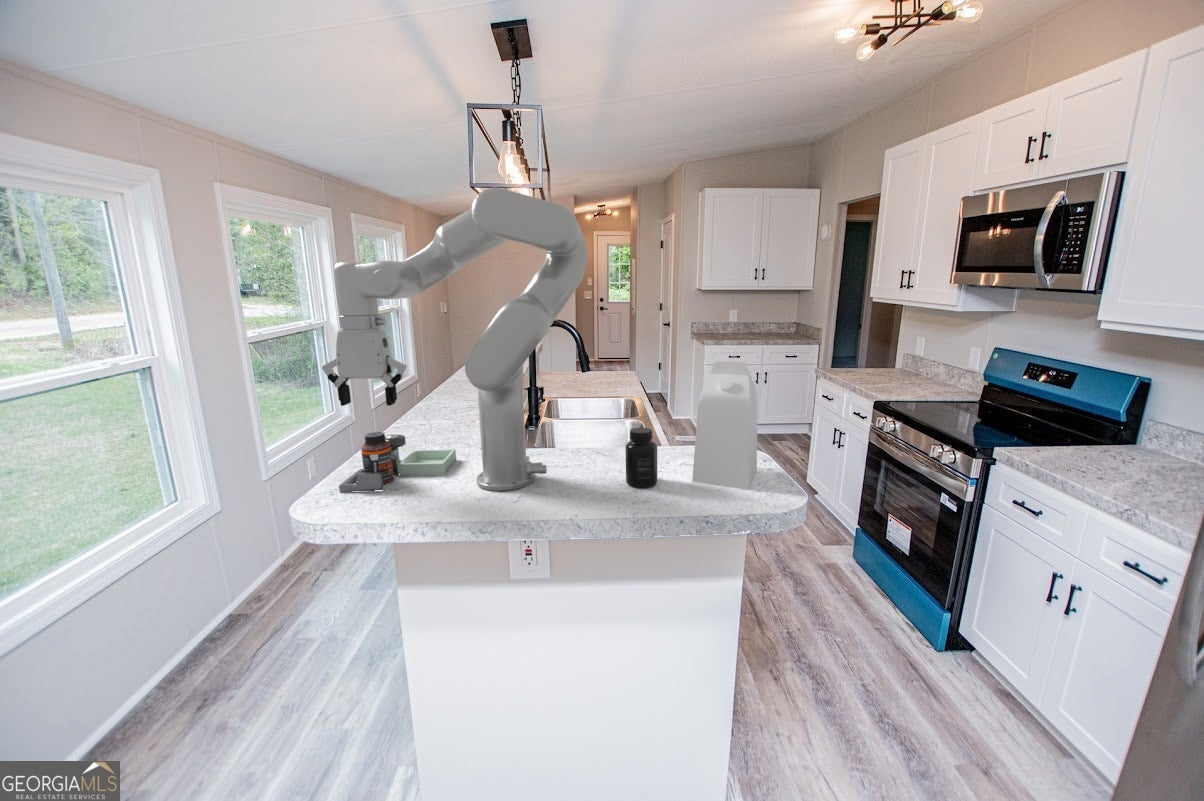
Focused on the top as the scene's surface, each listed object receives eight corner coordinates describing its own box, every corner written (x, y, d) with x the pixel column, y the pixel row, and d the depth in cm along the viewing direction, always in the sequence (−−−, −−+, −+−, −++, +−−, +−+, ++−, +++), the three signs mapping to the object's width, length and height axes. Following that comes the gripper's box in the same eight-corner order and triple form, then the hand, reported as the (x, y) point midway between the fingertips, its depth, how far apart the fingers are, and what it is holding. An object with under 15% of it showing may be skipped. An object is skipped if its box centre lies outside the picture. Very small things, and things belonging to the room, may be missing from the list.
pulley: (411, 461, 126) (408, 432, 124) (402, 469, 120) (399, 439, 118) (387, 461, 126) (384, 432, 124) (377, 470, 120) (373, 440, 118)
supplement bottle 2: (661, 479, 111) (662, 427, 109) (651, 491, 105) (651, 436, 103) (632, 475, 114) (632, 424, 111) (620, 486, 108) (620, 432, 105)
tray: (456, 460, 126) (455, 449, 125) (444, 475, 116) (443, 463, 115) (415, 460, 126) (414, 450, 125) (399, 475, 116) (398, 464, 115)
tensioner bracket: (399, 474, 117) (398, 457, 116) (382, 491, 107) (379, 473, 106) (361, 474, 117) (359, 458, 116) (339, 492, 107) (337, 474, 106)
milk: (756, 471, 115) (763, 358, 109) (748, 490, 105) (755, 366, 99) (704, 464, 120) (708, 356, 114) (692, 481, 110) (695, 363, 104)
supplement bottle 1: (383, 488, 109) (377, 438, 106) (359, 487, 110) (352, 437, 107) (400, 478, 115) (394, 430, 112) (376, 477, 116) (370, 429, 113)
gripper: (408, 322, 108) (415, 400, 112) (327, 322, 108) (337, 400, 112) (394, 325, 101) (402, 408, 105) (308, 325, 101) (318, 408, 104)
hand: (368, 404), depth 108 cm, fingers open, 9 cm apart
